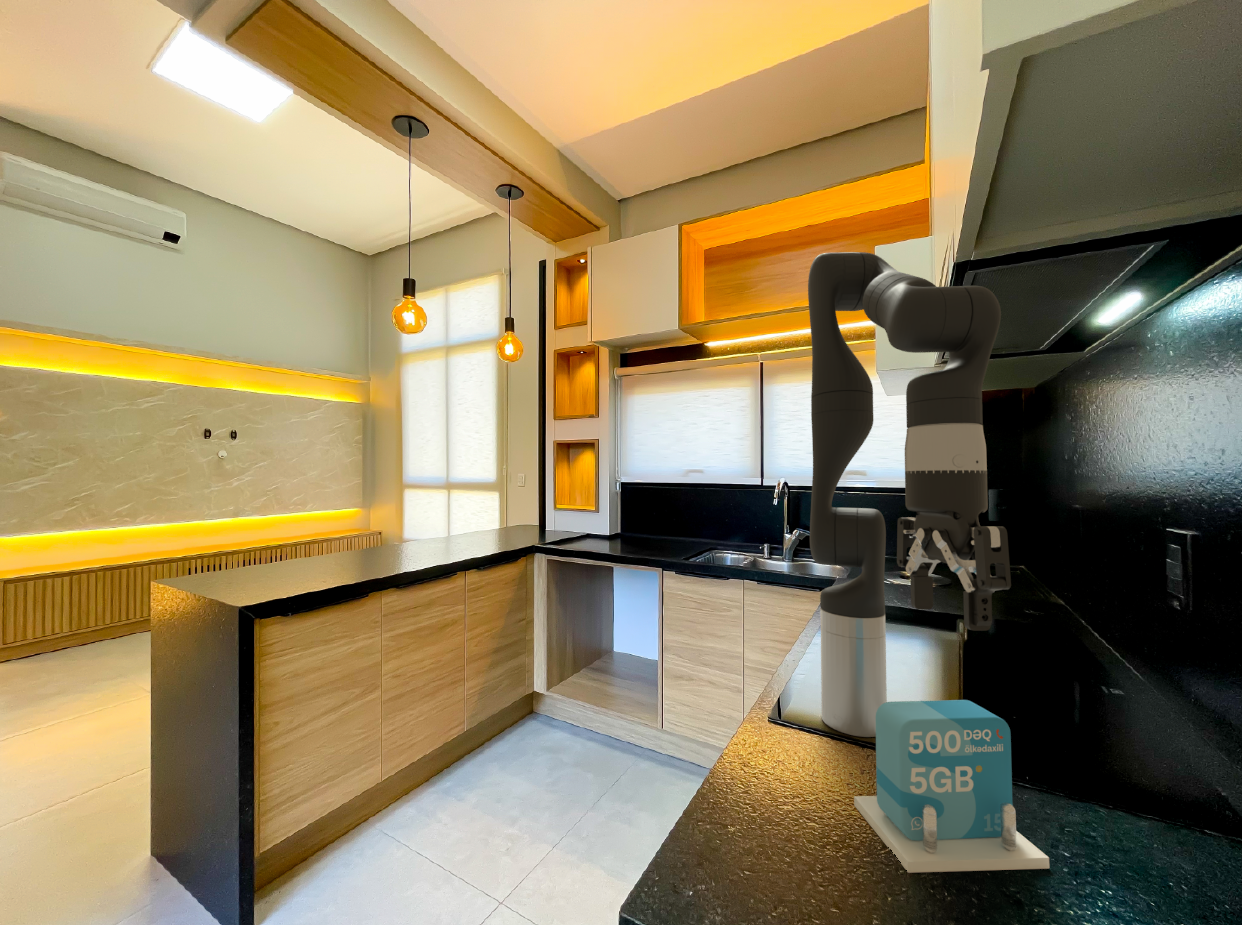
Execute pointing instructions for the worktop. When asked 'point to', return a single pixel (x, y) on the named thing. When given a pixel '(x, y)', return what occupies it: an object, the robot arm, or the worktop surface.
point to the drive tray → (950, 848)
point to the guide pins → (1006, 827)
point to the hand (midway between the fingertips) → (947, 618)
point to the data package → (943, 767)
